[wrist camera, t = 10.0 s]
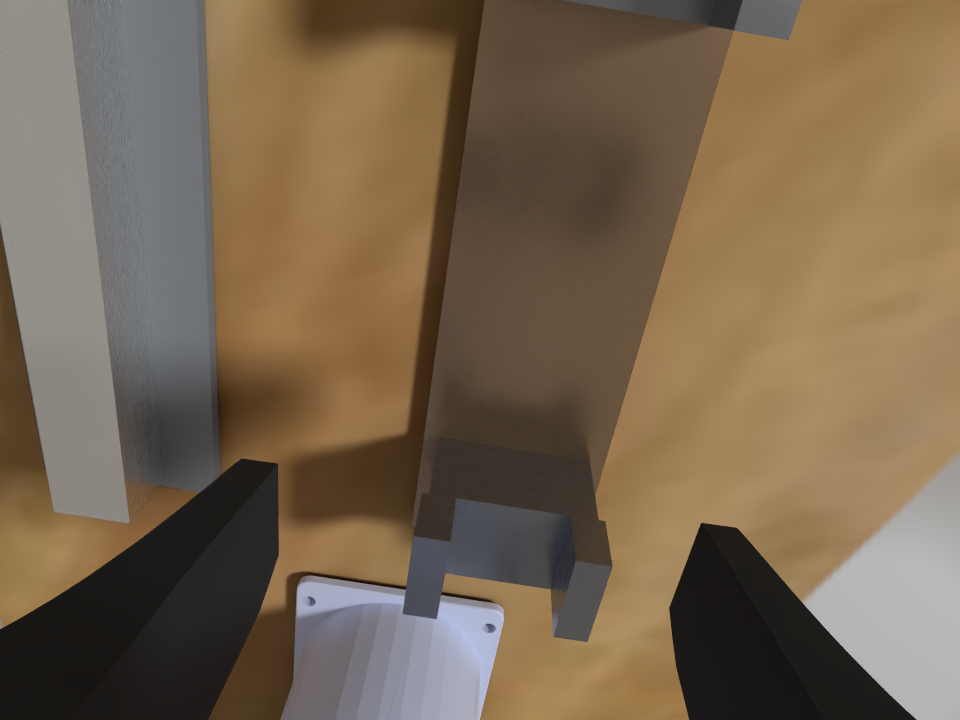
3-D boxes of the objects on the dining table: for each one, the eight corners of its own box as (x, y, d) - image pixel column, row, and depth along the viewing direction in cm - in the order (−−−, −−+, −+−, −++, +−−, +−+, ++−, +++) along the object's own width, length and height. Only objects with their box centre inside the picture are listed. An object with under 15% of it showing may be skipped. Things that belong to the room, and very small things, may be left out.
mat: (220, 485, 25) (215, 494, 24) (53, 460, 25) (44, 468, 24) (195, -279, 15) (184, -287, 14) (-87, -330, 15) (-107, -341, 14)
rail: (164, 476, 24) (129, 523, 22) (95, 466, 24) (54, 511, 22) (100, -269, 15) (29, -313, 12) (-14, -290, 14) (-104, -338, 12)
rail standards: (576, 540, 25) (589, 666, 20) (413, 515, 25) (388, 636, 20) (785, -171, 15) (904, -244, 10) (515, -220, 15) (514, -316, 10)
